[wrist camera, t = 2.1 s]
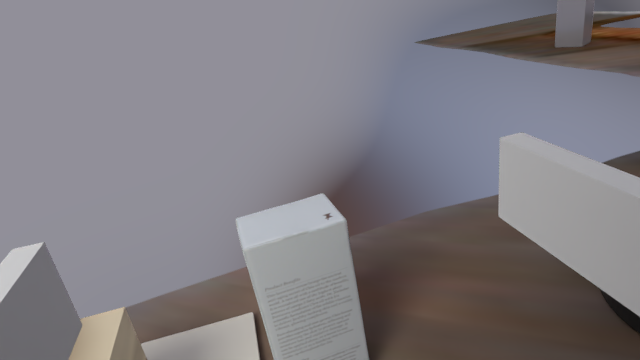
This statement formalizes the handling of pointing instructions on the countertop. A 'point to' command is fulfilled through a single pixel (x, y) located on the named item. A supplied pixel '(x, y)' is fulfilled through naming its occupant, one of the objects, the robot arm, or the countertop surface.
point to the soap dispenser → (574, 23)
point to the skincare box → (305, 280)
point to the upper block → (107, 338)
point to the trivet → (209, 342)
